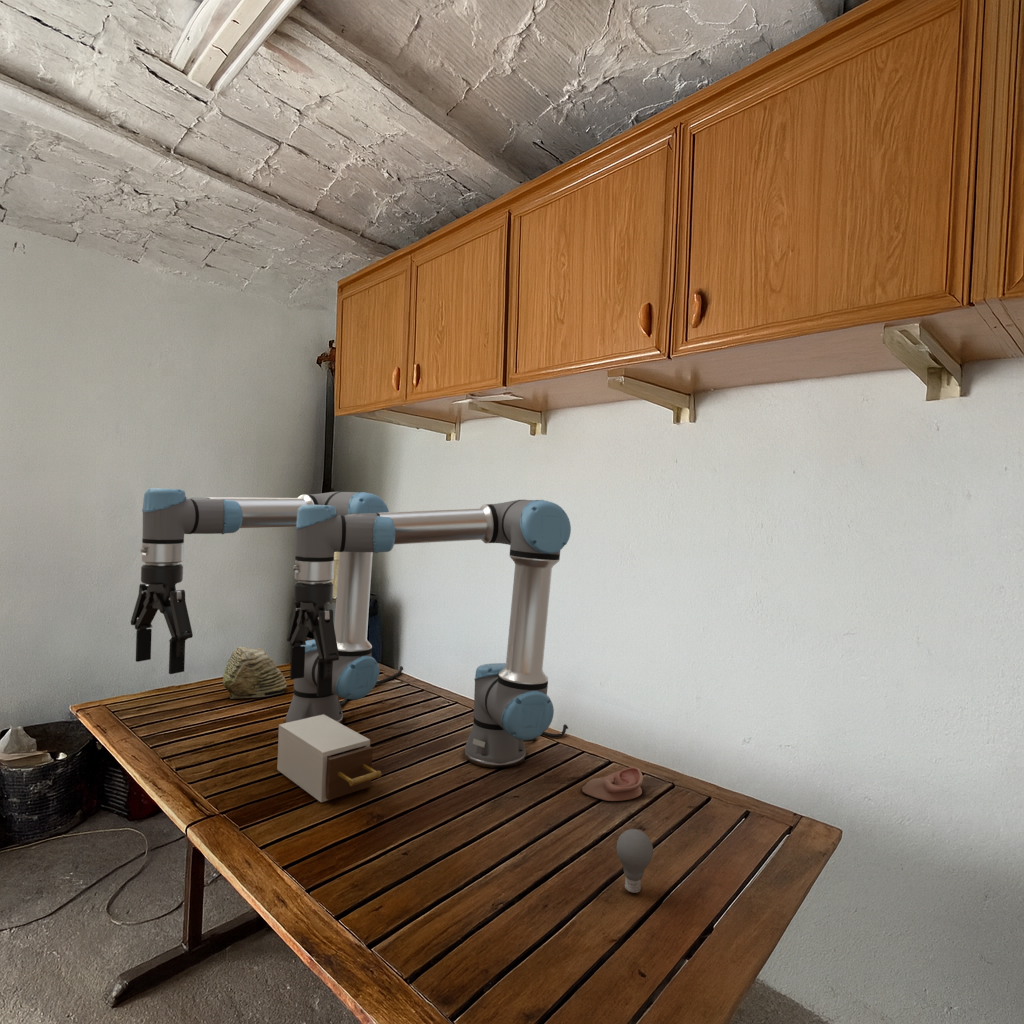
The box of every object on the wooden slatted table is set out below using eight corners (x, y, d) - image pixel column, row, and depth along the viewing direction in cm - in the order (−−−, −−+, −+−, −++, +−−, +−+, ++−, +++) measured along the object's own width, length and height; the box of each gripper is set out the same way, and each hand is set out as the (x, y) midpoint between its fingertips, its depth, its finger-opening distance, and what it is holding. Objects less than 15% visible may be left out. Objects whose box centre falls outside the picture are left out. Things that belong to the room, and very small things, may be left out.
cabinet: (368, 786, 139) (370, 739, 139) (321, 802, 131) (323, 752, 131) (322, 757, 154) (323, 714, 154) (276, 769, 146) (278, 724, 146)
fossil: (218, 695, 195) (220, 647, 195) (278, 685, 208) (279, 640, 207) (228, 703, 189) (230, 653, 188) (289, 692, 201) (290, 645, 201)
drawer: (387, 796, 133) (388, 756, 133) (344, 811, 126) (345, 769, 126) (326, 758, 151) (328, 722, 151) (286, 769, 144) (287, 732, 144)
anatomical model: (581, 779, 138) (585, 758, 149) (580, 797, 138) (585, 775, 149) (643, 787, 135) (643, 766, 147) (642, 806, 136) (642, 783, 147)
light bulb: (610, 879, 108) (613, 822, 108) (644, 879, 109) (647, 822, 109) (619, 902, 102) (622, 840, 102) (655, 901, 103) (658, 840, 103)
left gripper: (114, 559, 134) (111, 658, 134) (175, 570, 120) (172, 682, 120) (151, 557, 140) (148, 652, 140) (213, 568, 126) (210, 674, 126)
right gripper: (273, 574, 134) (269, 674, 135) (321, 590, 115) (317, 706, 116) (307, 573, 139) (303, 669, 140) (359, 588, 120) (355, 699, 121)
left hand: (159, 666), depth 130 cm, fingers open, 13 cm apart
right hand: (310, 686), depth 128 cm, fingers open, 13 cm apart
